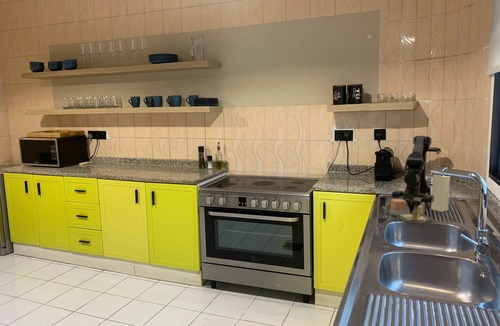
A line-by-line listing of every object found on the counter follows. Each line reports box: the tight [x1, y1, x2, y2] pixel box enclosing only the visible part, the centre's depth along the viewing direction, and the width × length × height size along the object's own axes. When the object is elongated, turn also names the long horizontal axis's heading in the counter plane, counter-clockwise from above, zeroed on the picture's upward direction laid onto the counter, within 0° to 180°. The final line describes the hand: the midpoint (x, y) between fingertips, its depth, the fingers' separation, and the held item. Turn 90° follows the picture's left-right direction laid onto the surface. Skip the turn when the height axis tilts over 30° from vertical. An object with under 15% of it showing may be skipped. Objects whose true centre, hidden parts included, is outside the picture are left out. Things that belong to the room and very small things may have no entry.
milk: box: [430, 174, 451, 213], centre depth 212 cm, size 6×6×22 cm
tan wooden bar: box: [412, 205, 424, 220], centre depth 198 cm, size 15×2×4 cm, turn 144°
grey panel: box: [381, 206, 438, 224], centre depth 205 cm, size 16×30×1 cm, turn 3°
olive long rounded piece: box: [384, 202, 426, 216], centre depth 205 cm, size 21×2×6 cm, turn 93°
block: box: [390, 198, 407, 210], centre depth 216 cm, size 6×6×4 cm
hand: (411, 213), depth 197 cm, fingers closed
